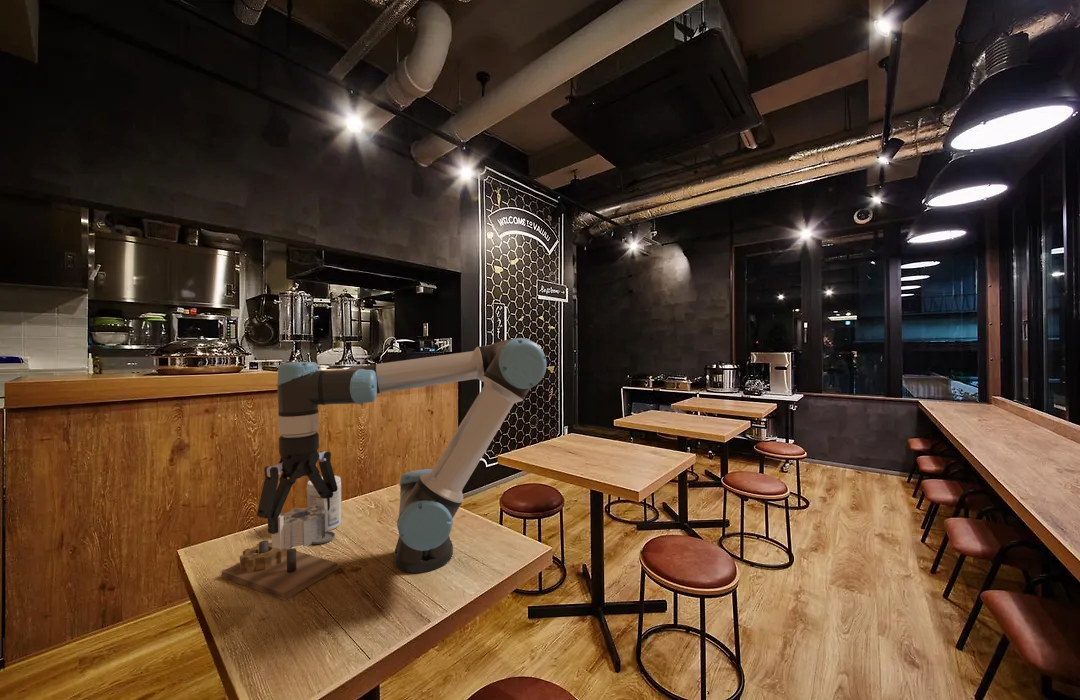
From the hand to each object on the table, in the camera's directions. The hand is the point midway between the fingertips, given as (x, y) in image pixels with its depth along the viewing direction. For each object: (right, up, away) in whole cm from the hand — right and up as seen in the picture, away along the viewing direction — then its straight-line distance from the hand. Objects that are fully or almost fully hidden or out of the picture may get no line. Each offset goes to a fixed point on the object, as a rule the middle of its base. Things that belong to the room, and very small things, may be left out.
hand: (301, 536), depth 90 cm
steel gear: (0, 0, 0) cm, 0 cm away
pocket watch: (-12, -15, +32) cm, 37 cm away
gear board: (-13, -15, +13) cm, 24 cm away
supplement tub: (-16, -15, +40) cm, 45 cm away
